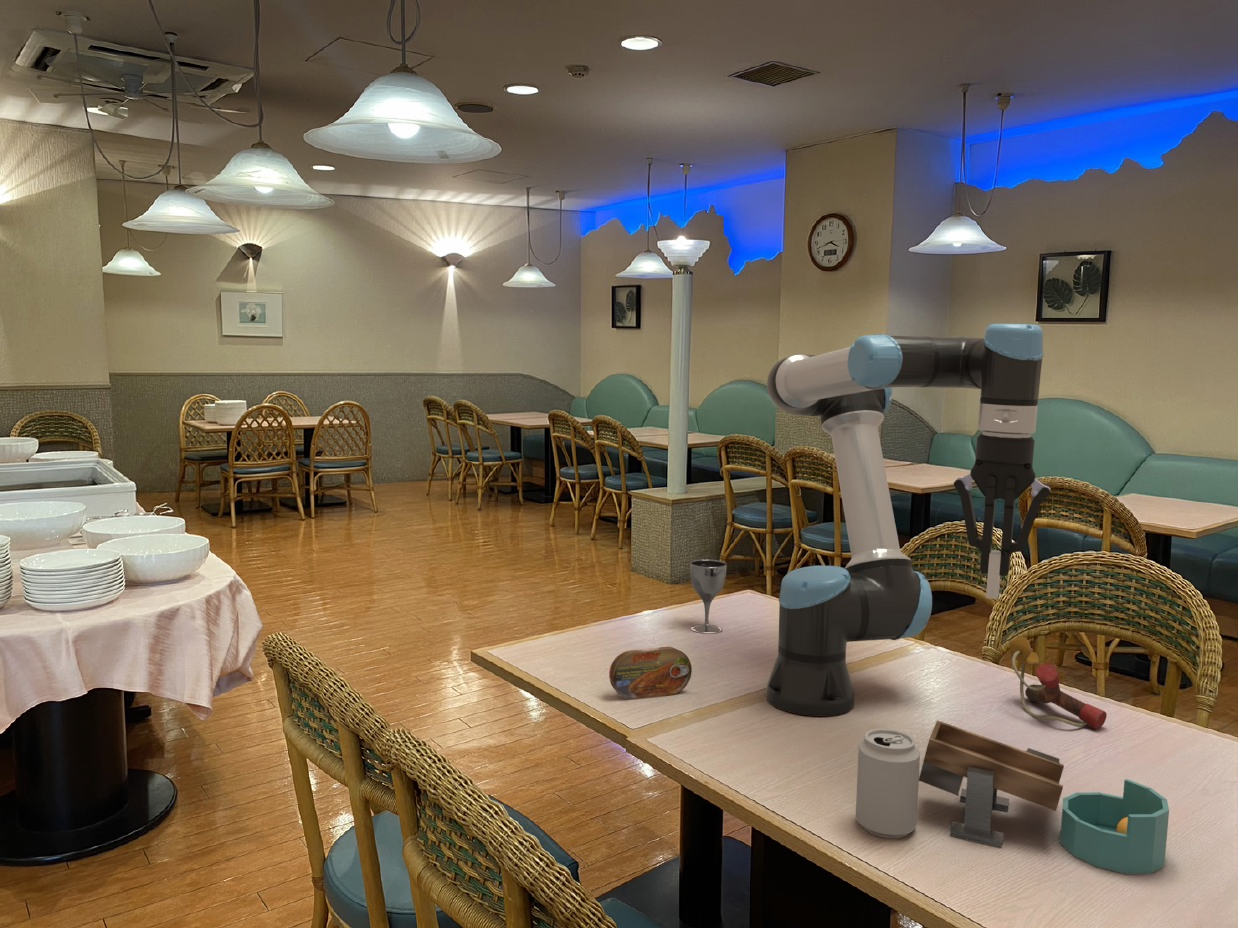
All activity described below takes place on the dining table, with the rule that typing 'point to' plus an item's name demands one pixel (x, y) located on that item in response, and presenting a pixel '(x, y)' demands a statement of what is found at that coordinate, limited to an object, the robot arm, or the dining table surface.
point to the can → (887, 783)
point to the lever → (990, 765)
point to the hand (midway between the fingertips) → (992, 596)
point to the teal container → (1096, 822)
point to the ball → (1122, 826)
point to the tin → (650, 673)
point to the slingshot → (1051, 689)
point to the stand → (980, 809)
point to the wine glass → (707, 586)
